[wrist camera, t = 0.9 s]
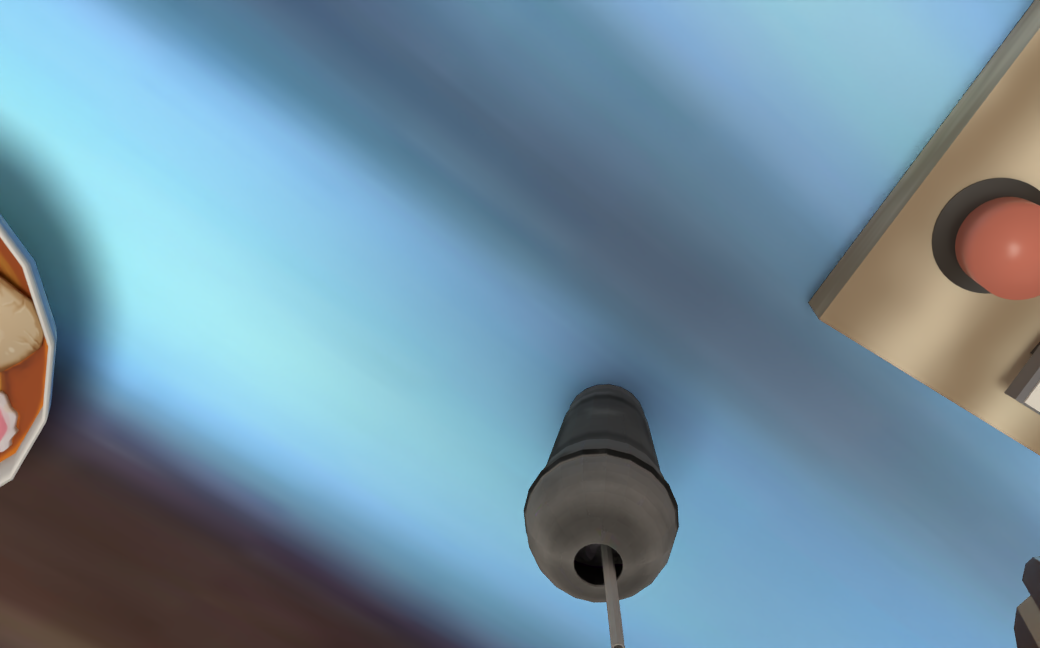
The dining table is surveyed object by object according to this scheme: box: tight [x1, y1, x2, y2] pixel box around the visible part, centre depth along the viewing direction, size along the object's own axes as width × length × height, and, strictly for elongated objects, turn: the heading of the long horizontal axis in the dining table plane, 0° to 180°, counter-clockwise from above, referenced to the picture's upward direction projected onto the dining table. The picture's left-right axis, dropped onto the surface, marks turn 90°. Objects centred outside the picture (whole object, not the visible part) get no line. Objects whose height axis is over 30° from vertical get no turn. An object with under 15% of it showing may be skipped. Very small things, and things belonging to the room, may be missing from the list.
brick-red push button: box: [955, 197, 1040, 300], centre depth 44 cm, size 4×4×2 cm
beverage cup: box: [524, 384, 679, 648], centre depth 45 cm, size 7×7×20 cm
